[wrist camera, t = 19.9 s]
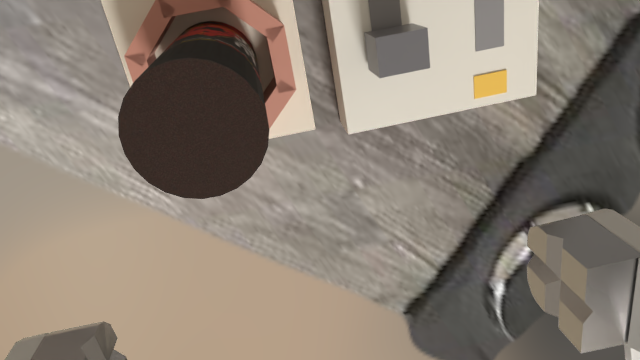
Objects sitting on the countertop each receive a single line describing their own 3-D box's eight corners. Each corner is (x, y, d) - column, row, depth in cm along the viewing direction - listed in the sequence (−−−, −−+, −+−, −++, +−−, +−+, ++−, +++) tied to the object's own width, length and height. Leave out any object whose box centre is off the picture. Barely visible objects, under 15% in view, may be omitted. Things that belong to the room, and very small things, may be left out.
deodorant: (273, 49, 33) (295, 103, 19) (234, 122, 35) (229, 219, 21) (192, 3, 31) (155, 27, 17) (155, 83, 33) (94, 162, 19)
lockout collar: (314, 127, 36) (321, 142, 33) (156, 160, 35) (148, 178, 32) (283, -46, 31) (288, -48, 28) (98, -12, 30) (82, -10, 27)
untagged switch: (415, 60, 32) (430, 68, 29) (368, 69, 31) (379, 78, 29) (412, 23, 31) (427, 27, 28) (364, 32, 30) (375, 38, 28)
